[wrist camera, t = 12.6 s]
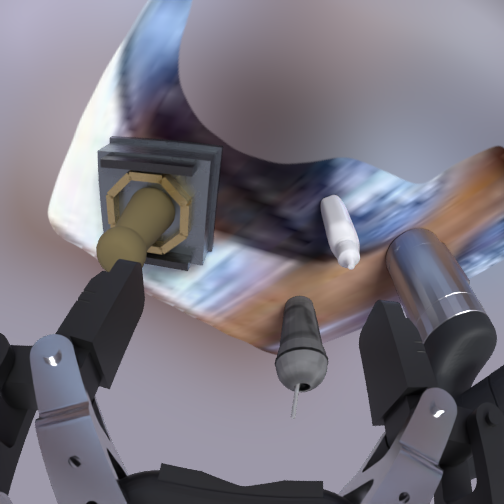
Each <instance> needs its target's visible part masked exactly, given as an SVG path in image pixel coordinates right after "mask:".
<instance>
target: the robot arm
mask: <svg viewBox="0 0 504 504" xmlns="http://www.w3.org/2000/svg"><path fill="white" fill-rule="evenodd" d="M386 266H387V268H388V271H389V273H390V276H391V278H392V280H393V283H394V286H395V288H396V291H397V293H398V296H399V298H400V301H401V303H402V306H403V308H404V311H405V313H406V316H407V318H405V316H404V313H403V310H402V308H401V305H400V304H399V303H398V302H390V301H382V300H378V301H377V302H376V303H375V305H374V307H373V309H372V311H371V313H370V315H369V317H368V319H367V321H366V323H365V325H364V327H363V328H362V331H361V333H360V338H359V348H360V354H361V358H362V364H363V369H364V375H365V380H366V386H367V392H368V397H369V404H370V411H371V417H372V424H373V426H377V425H379V426H380V425H385V432H384V433H383V434H382V436H381V437H380V439H379V441H378V442H377V444H376V446H375V447H374V449H373V450H372V452H371V453H370V455H369V456H368V458H367V459H366V461H365V462H364V464H363V465H362V467H361V468H360V470H359V471H358V473H357V474H356V475H355V476H354V477H353V479H352V480H351V481H350V482H349V483H348V484H347V485H346V486H345V487H344V488H343V489H342V490H341V491H340V493H339V494H336V493H333V492H330V491H327V490H324V489H323V481H285V480H284V481H279V482H273V483H267V484H260V485H254V486H239V485H236V484H233V483H230V482H227V481H225V480H222V479H220V478H217V477H214V476H212V475H209V474H207V473H204V472H202V471H197V470H192V469H187V468H181V467H177V466H172V465H167V464H163V463H162V464H161V468H160V470H154V471H144V472H140V473H135V474H132V475H128V473H127V471H126V469H125V467H124V464H123V462H122V461H121V459H120V456H119V454H118V452H117V451H116V449H115V447H114V444H113V442H112V440H111V437H110V435H109V433H108V430H107V427H106V425H105V422H104V419H103V417H102V414H101V411H100V408H99V405H98V403H97V400H96V397H95V394H96V392H97V389H98V387H99V386H101V387H104V388H108V389H110V387H111V385H112V382H113V380H114V377H115V374H116V372H117V370H118V367H119V365H120V363H121V360H122V358H123V355H124V353H125V350H126V348H127V346H128V344H129V341H130V339H131V337H132V335H133V332H134V330H135V328H136V326H137V323H138V321H139V319H140V317H141V314H142V312H143V307H144V301H145V296H144V285H143V274H142V266H141V263H140V262H135V261H129V260H124V259H118V260H117V261H116V263H115V264H114V266H113V267H112V269H111V270H110V272H106V271H102V272H101V273H99V274H98V275H96V276H95V277H94V278H92V279H91V280H90V282H89V283H88V285H87V286H86V287H85V289H84V292H82V294H81V295H80V296H79V298H78V301H76V303H75V304H74V306H73V307H72V308H71V310H70V312H69V313H68V315H67V316H66V318H65V319H64V321H63V323H62V324H61V326H60V327H59V329H58V331H57V332H56V334H52V335H47V336H44V337H43V338H40V339H39V340H38V341H37V342H36V343H35V344H34V345H33V346H17V345H10V344H9V342H8V340H7V339H6V337H5V336H4V335H3V334H1V333H0V504H12V502H11V500H10V498H9V497H8V494H9V490H10V486H11V483H12V479H13V476H14V472H15V469H16V466H17V463H18V460H19V457H20V454H21V451H22V448H23V445H24V442H25V439H26V436H27V434H28V431H29V428H30V426H31V423H32V420H33V418H34V415H35V413H36V410H39V418H38V419H36V421H35V428H36V433H37V437H38V441H39V445H40V449H41V453H42V456H43V460H44V463H45V466H46V470H47V473H48V476H49V479H50V483H51V486H52V488H53V491H54V494H55V497H56V499H57V502H58V504H430V502H431V499H432V498H433V495H434V504H504V365H503V366H501V367H500V368H499V369H497V370H496V371H494V372H493V373H491V374H490V375H489V376H487V377H486V378H485V379H483V380H482V381H480V382H479V383H477V384H476V385H474V386H473V387H471V386H472V383H473V382H474V380H475V378H476V376H477V375H478V373H479V372H480V370H481V369H482V368H483V366H484V365H485V364H486V362H487V361H488V360H489V358H490V356H491V355H492V353H493V351H494V349H495V346H496V342H497V341H496V340H497V335H496V331H495V328H494V326H493V324H492V322H491V321H490V319H489V317H488V316H487V314H486V312H485V311H484V309H483V307H482V305H481V304H480V302H479V300H478V299H477V297H476V295H475V294H474V292H473V290H472V289H471V288H470V286H469V284H470V281H469V279H468V277H467V276H466V274H465V273H464V271H463V270H462V268H461V267H460V265H459V264H458V262H457V261H456V259H455V258H454V256H453V255H452V253H451V252H450V251H449V249H448V248H447V246H446V245H445V244H444V243H442V242H440V241H439V239H438V238H437V237H436V235H435V234H434V233H433V232H431V231H429V230H426V229H412V230H409V231H407V232H405V233H403V234H401V235H400V236H399V237H397V238H396V239H395V240H394V241H393V243H392V244H391V245H390V247H389V249H388V252H387V255H386ZM474 478H477V484H476V488H475V490H474V491H473V492H472V487H471V479H474Z"/></svg>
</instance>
